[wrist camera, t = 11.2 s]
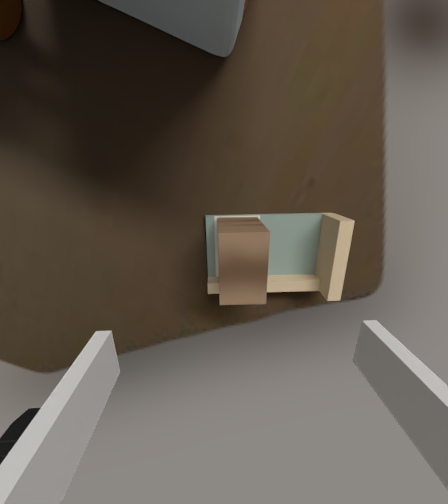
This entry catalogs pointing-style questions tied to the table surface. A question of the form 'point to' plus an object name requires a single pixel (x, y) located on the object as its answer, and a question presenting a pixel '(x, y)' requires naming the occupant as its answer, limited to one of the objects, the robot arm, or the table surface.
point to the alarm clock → (191, 20)
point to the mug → (9, 17)
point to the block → (242, 260)
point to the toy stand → (295, 252)
